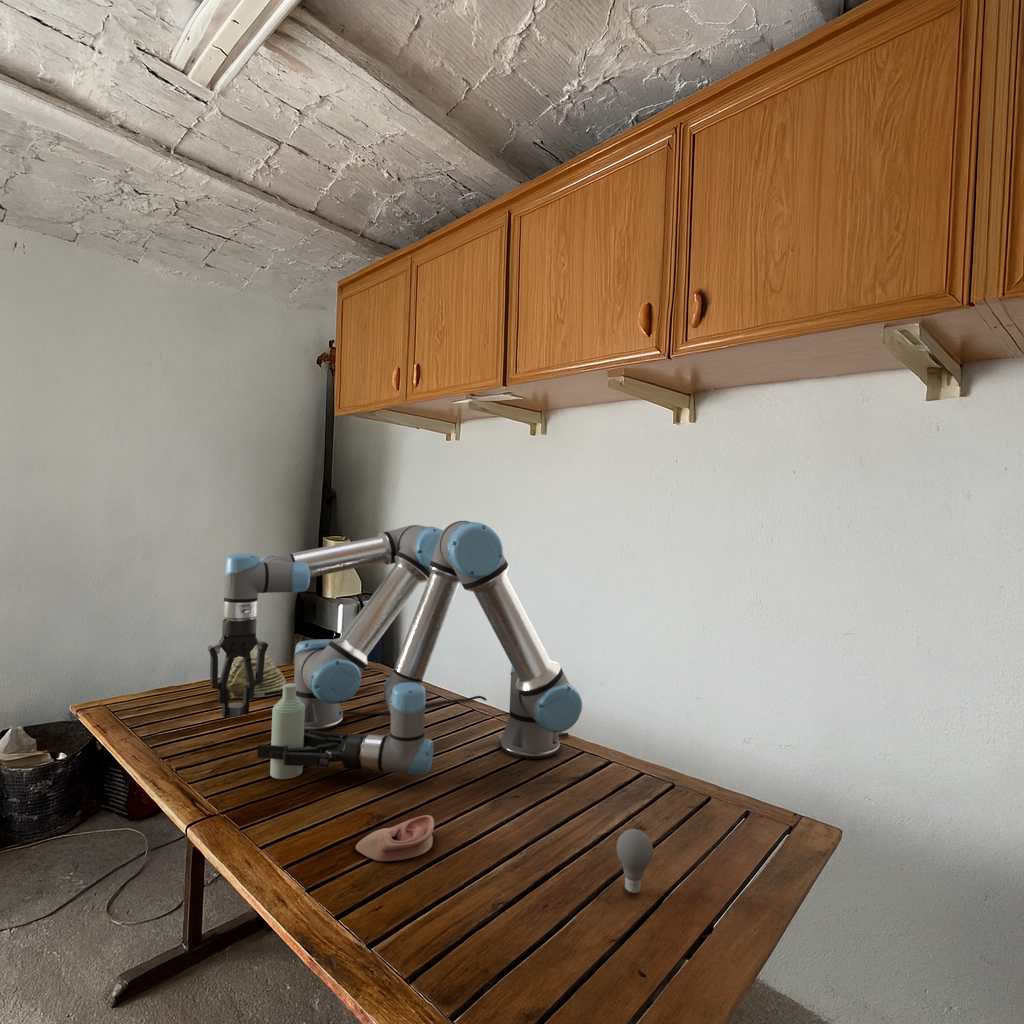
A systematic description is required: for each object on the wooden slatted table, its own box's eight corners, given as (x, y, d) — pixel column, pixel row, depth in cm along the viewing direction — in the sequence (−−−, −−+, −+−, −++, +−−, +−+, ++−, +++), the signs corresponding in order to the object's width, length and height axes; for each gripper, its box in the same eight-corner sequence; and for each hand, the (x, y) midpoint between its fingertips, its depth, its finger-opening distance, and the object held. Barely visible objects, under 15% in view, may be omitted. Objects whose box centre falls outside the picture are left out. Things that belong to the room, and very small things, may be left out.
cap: (242, 717, 151) (242, 708, 151) (223, 717, 150) (223, 707, 150) (246, 711, 155) (247, 702, 155) (228, 711, 154) (229, 702, 154)
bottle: (278, 782, 140) (281, 691, 139) (264, 771, 145) (268, 684, 144) (307, 773, 145) (311, 685, 144) (293, 763, 150) (297, 678, 149)
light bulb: (610, 879, 108) (613, 822, 108) (644, 879, 109) (647, 822, 109) (619, 902, 102) (622, 840, 102) (655, 901, 103) (658, 840, 103)
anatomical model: (348, 834, 112) (375, 804, 123) (347, 856, 112) (374, 824, 123) (419, 845, 109) (440, 813, 120) (418, 868, 109) (439, 834, 121)
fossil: (218, 695, 195) (220, 647, 195) (278, 685, 208) (279, 640, 207) (228, 703, 189) (230, 653, 188) (289, 692, 201) (290, 645, 201)
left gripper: (204, 623, 144) (199, 725, 145) (280, 618, 154) (276, 713, 155) (197, 617, 150) (193, 715, 151) (272, 613, 160) (267, 705, 161)
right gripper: (348, 788, 133) (243, 779, 135) (376, 751, 153) (285, 744, 155) (349, 753, 133) (244, 744, 135) (377, 720, 153) (286, 713, 155)
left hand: (235, 714), depth 153 cm, fingers closed on cap, 4 cm apart
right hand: (266, 744), depth 145 cm, fingers closed on bottle, 7 cm apart
